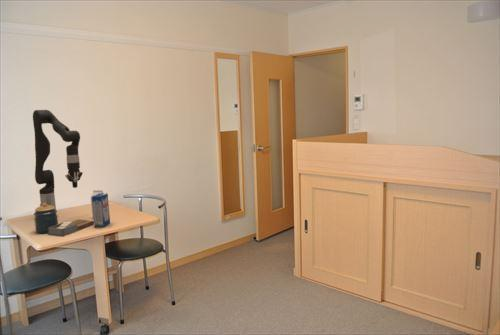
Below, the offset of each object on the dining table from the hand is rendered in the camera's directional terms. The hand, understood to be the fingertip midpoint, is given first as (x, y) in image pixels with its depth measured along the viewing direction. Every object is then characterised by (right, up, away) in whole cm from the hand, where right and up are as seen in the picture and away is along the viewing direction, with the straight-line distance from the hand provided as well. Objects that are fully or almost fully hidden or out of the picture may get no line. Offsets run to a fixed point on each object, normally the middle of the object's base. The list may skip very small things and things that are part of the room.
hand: (75, 187), depth 261 cm
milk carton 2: (+20, -24, -6) cm, 32 cm away
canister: (-11, -26, -13) cm, 32 cm away
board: (+6, -25, -8) cm, 27 cm away
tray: (+1, -27, -19) cm, 33 cm away
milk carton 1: (+11, -22, +15) cm, 28 cm away
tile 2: (+2, -24, -16) cm, 29 cm away
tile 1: (0, -26, -21) cm, 34 cm away
